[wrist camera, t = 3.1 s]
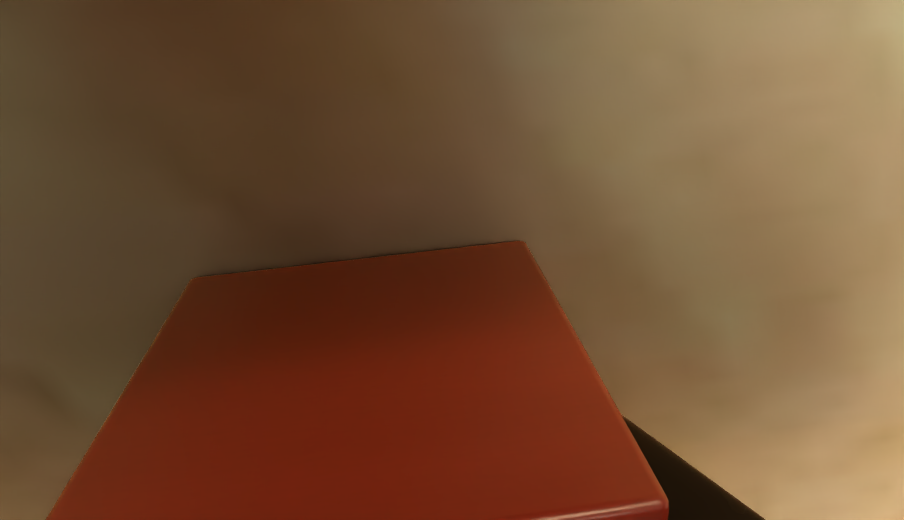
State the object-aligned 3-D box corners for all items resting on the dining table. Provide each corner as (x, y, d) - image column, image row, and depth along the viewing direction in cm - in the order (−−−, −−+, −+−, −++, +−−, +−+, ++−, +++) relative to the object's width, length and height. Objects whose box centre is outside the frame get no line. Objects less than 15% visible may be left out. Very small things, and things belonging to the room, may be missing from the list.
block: (189, 275, 8) (-15, 605, 4) (525, 237, 8) (676, 502, 4) (262, 514, 9) (182, 896, 6) (529, 476, 10) (632, 811, 6)
